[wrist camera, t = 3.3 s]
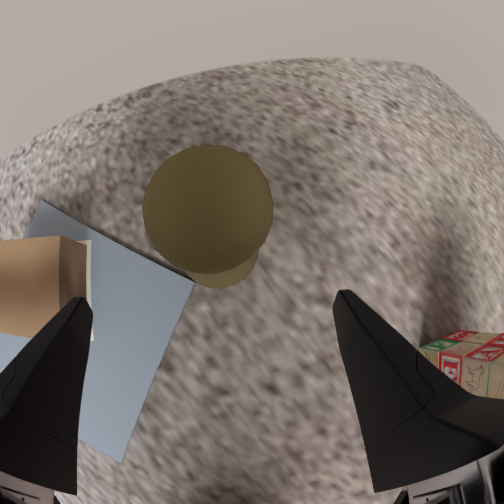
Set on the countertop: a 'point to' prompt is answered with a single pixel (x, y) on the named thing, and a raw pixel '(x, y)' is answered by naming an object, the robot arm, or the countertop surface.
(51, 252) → the walnut block
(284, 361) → the countertop surface
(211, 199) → the olive pawn
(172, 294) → the mat
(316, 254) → the countertop surface
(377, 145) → the countertop surface
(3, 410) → the robot arm
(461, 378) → the stack of blocks
